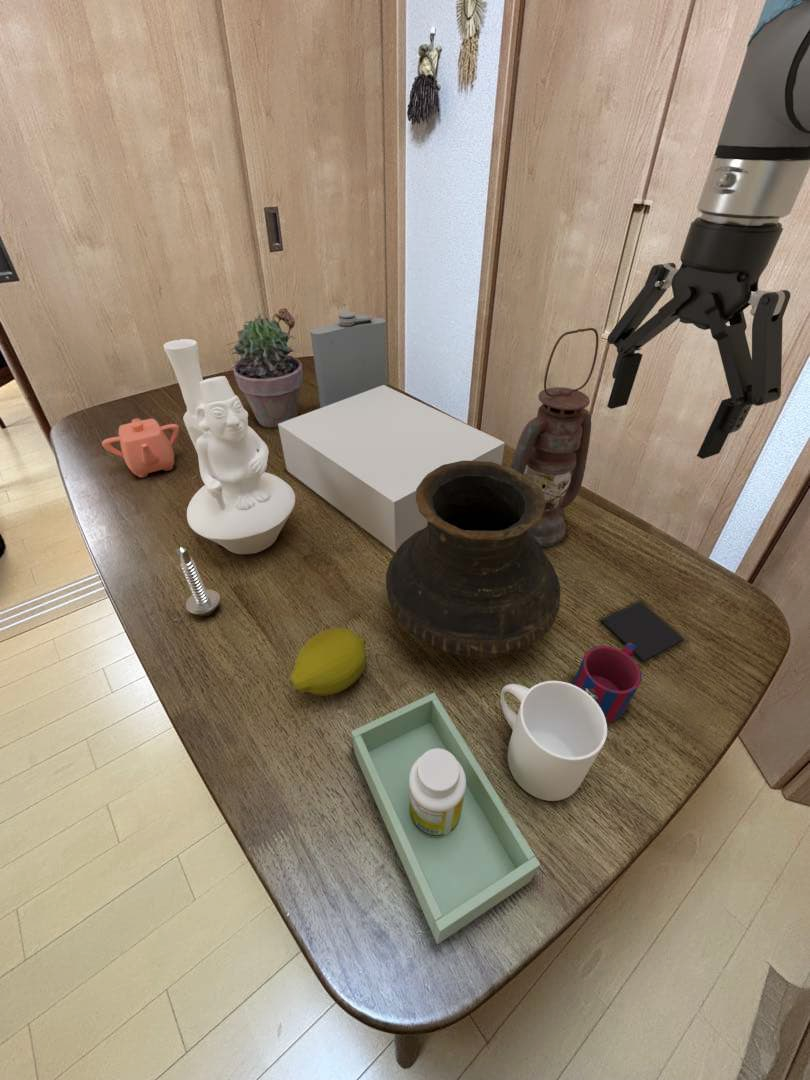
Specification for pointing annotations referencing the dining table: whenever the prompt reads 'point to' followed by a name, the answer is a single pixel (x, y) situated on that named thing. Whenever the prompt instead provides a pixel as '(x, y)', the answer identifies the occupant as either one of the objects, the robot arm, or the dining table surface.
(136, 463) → the teapot
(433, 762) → the supplement bottle
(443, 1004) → the dining table surface
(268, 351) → the potted plant
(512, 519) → the ceramic pot
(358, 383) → the flask
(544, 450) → the lantern
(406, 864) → the bin
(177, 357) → the white sculpted figure
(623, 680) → the cup
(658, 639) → the coaster
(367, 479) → the box
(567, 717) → the mug
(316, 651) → the lemon
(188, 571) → the screw
